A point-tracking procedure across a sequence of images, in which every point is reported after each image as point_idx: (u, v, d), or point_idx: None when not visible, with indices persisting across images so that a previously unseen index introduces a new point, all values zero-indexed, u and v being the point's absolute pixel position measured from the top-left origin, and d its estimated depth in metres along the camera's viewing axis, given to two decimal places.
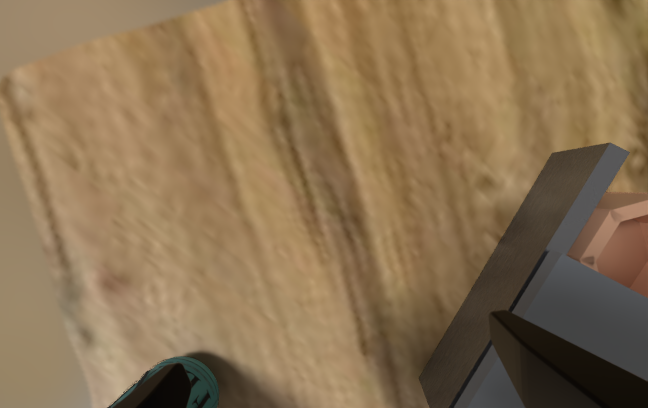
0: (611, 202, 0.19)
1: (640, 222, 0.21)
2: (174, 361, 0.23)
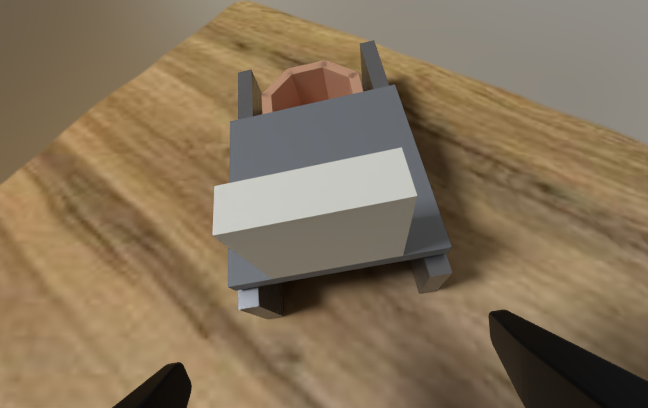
0: None
1: None
2: None
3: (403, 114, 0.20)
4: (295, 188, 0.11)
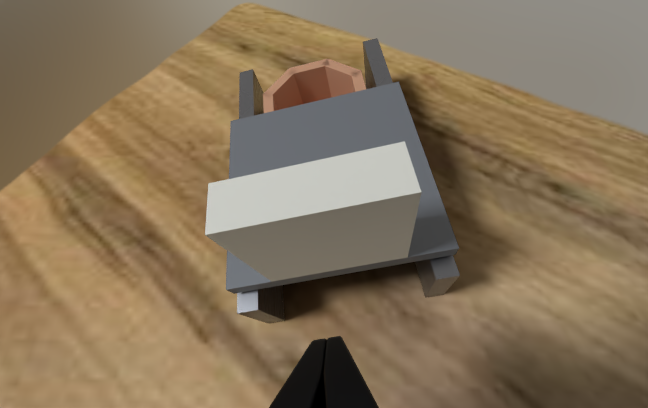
0: None
1: None
2: None
3: (407, 111, 0.19)
4: (292, 185, 0.10)
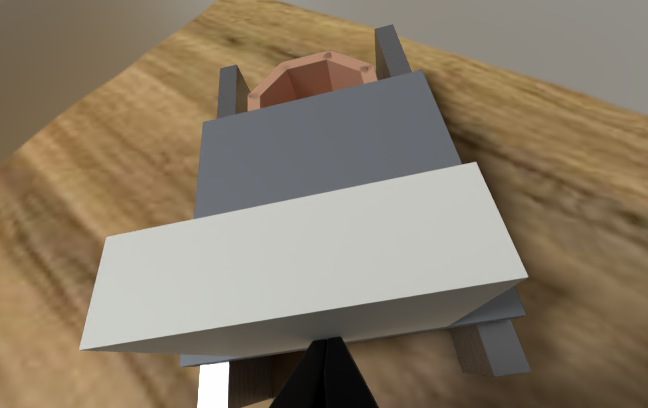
0: None
1: None
2: None
3: (436, 109, 0.14)
4: (255, 247, 0.05)
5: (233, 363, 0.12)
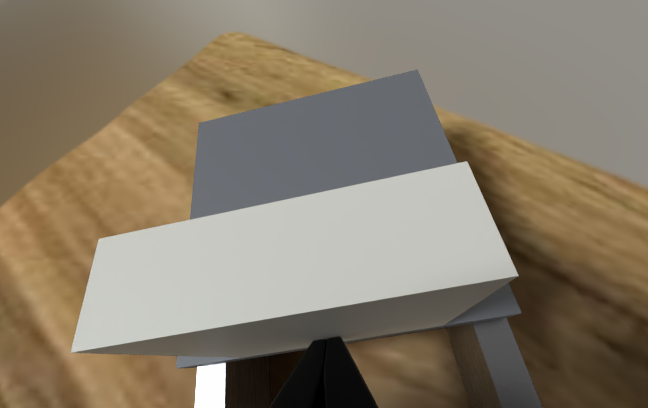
0: None
1: None
2: None
3: (431, 109, 0.14)
4: (247, 248, 0.05)
5: None
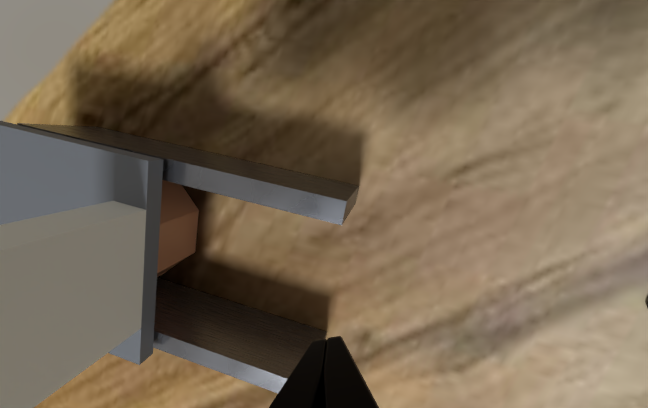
0: None
1: None
2: None
3: (2, 127, 0.16)
4: None
5: (283, 370, 0.18)
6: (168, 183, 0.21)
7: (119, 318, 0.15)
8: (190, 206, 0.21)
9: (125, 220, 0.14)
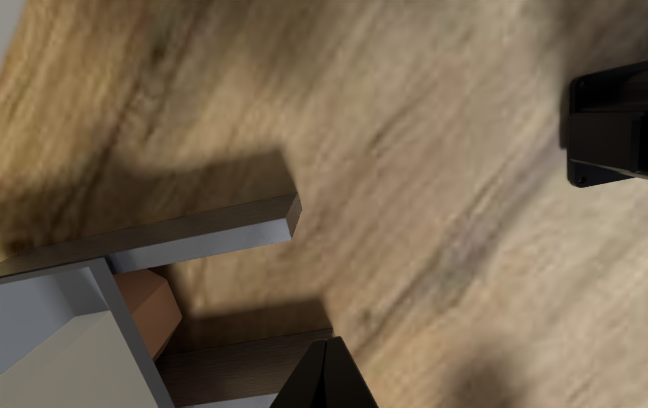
0: None
1: None
2: None
3: None
4: None
5: None
6: None
7: None
8: (156, 281, 0.21)
9: (93, 330, 0.14)
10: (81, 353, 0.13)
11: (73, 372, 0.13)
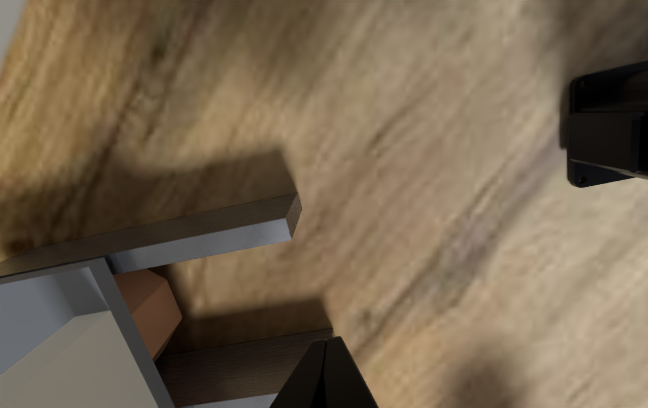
0: None
1: None
2: None
3: None
4: None
5: None
6: None
7: None
8: (156, 281, 0.21)
9: (93, 330, 0.14)
10: (81, 353, 0.13)
11: (73, 372, 0.13)
